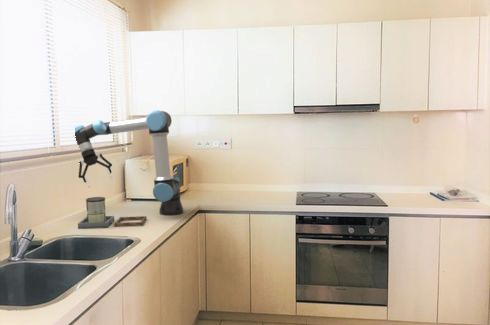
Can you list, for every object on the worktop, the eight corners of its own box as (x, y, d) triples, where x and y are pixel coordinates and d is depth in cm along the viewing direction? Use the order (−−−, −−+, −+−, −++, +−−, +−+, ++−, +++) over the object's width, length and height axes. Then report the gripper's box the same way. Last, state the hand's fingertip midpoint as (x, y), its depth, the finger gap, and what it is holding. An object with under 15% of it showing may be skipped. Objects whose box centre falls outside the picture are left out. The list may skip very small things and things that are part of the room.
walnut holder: (146, 219, 246) (146, 216, 245) (142, 225, 230) (142, 222, 230) (120, 220, 244) (120, 217, 244) (114, 226, 229) (114, 223, 229)
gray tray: (114, 220, 243) (114, 215, 243) (107, 227, 227) (107, 222, 227) (86, 221, 242) (86, 216, 242) (78, 228, 226) (77, 223, 226)
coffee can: (83, 223, 234) (82, 198, 233) (100, 219, 242) (99, 196, 241) (93, 225, 228) (91, 200, 226) (109, 222, 235) (108, 198, 234)
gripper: (107, 144, 256) (120, 175, 255) (66, 159, 247) (80, 191, 246) (107, 142, 249) (120, 174, 248) (65, 156, 240) (79, 189, 239)
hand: (100, 182), depth 247 cm, fingers open, 13 cm apart
